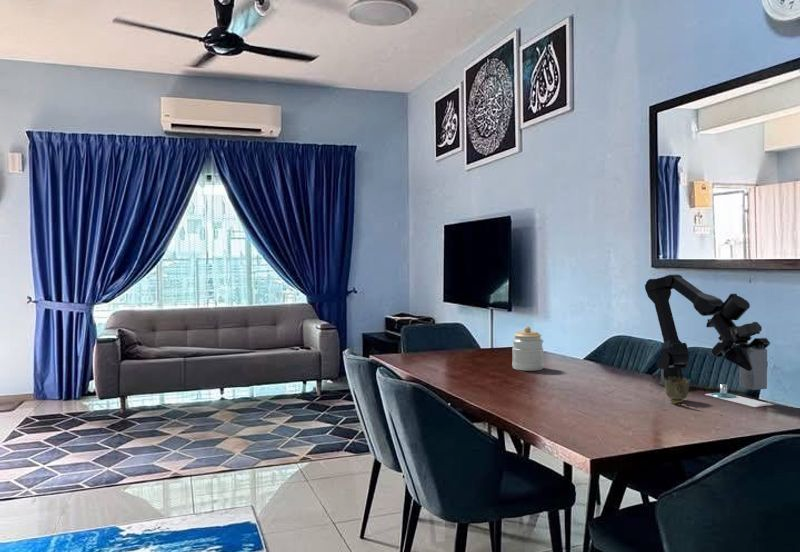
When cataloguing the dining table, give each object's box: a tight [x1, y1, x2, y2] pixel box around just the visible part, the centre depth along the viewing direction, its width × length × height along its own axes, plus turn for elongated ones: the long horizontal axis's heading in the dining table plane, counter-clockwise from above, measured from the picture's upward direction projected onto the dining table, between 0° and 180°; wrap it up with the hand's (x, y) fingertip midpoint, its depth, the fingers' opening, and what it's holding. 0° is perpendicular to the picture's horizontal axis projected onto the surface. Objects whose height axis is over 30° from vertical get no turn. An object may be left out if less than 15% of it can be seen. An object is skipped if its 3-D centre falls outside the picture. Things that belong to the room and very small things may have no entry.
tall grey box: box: [738, 347, 768, 391], centre depth 189 cm, size 5×5×12 cm
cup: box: [664, 376, 691, 406], centre depth 193 cm, size 8×7×8 cm
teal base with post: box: [710, 383, 737, 399], centre depth 200 cm, size 7×7×4 cm
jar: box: [511, 326, 544, 372], centre depth 259 cm, size 13×13×18 cm
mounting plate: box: [704, 392, 775, 408], centre depth 194 cm, size 19×8×1 cm, turn 19°
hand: (756, 369), depth 188 cm, fingers closed on tall grey box, 5 cm apart
